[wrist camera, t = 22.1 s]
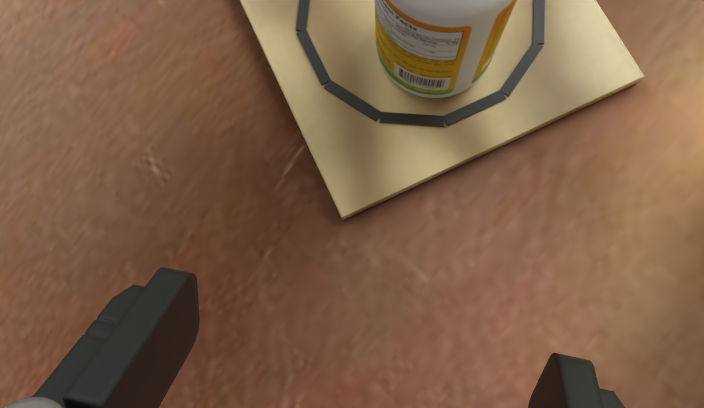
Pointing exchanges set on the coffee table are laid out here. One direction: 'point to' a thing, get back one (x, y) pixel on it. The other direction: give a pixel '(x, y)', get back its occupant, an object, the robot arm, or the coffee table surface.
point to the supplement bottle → (438, 42)
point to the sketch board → (421, 112)
